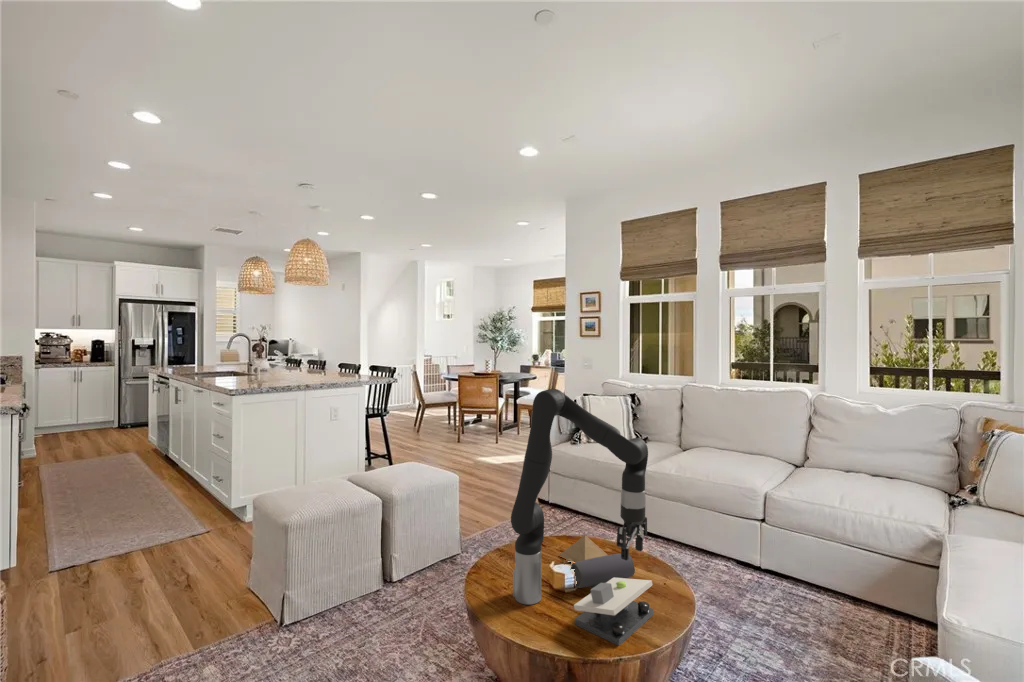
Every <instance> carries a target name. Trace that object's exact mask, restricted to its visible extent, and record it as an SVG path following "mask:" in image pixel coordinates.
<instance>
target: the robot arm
mask: <svg viewBox="0 0 1024 682" xmlns="http://www.w3.org/2000/svg"><path fill="white" fill-rule="evenodd" d="M556 416H559V417H561V418H564V419H566V420H568V421H570V422H571V423H572V424H574V425H575V426H576V427H578V429H579V430H581V432H582V433H583V434H585V435H586V436H587V437H588V438H589V439H590V440H593V441H594V442H595V443H598V444H599V445H600V446H603V448H606V449H608V450H609V452H611V453H612V454H613V455H614V456H615V457H616V458H617V459H619V460H621V461H622V462H624V463H625V468H624V469H623V472H622V473H621V474H622V475H621V492H620V513H619V514H620V519H622V520H623V526H618V527H617V529H616V530H617V531H616V547H618V548H620V553H621V558H622V559H624V560H628V559H629V555H630V554H629V553H630V548H629V547H630V544H631V543H632V542H633V540H634V538H635V547H634V548H635V550H636V551H637V552H642V551H643V550H644V549H643V548H644V546H643V545H644V540H645V536H647V535H648V517H646V499H647V498H646V472H647V471H646V470H647V466H648V459H649V448H648V444H647V443H646V442H645V440H644V439H642V438H639V437H633V438H630V439H628V438H626V437H625V436H623V435H622V434H621V432H620V430H619V429H618V428H617V427H616V426H614V425H611V424H610V423H609V422H606V421H604V420H603V419H601V418H599V417H597V416H596V415H594V414H592V412H589V411H587V410H586V409H585V408H583V407H582V406H581V405H579V404H578V403H577V402H575V401H574V400H573V399H572V398H570V397H569V396H567V394H566V393H564V392H563V391H561V390H559V389H557V388H548V389H546V390H545V389H544V390H542V391H541V390H540V391H539V392H538V393H537V394H536V395H535V396H534V399H533V402H532V409H531V418H530V419H531V421H530V429H529V435H528V440H527V444H526V450H525V453H524V459H523V462H522V463H523V464H522V471H521V475H520V479H519V483H518V484H519V486H518V491H517V495H516V498H515V502H514V504H513V507H512V511H511V515H510V524H511V527H512V530H513V531H514V532H515V533H517V535H518V537H517V538H516V540H515V542H514V569H513V570H512V597H513V598H515V600H516V602H517V603H519V604H522V605H534V604H537V603H539V602H541V600H542V545H543V542H544V538H545V537H544V536H545V535H544V534H545V533H544V532H545V516H544V515H545V514H544V511H543V508H542V507H541V506H540V504H538V503H537V499H538V496H539V494H540V492H541V490H542V488H543V486H544V485H545V483H546V481H547V479H548V476H549V472H550V469H551V466H552V465H551V464H552V460H553V448H552V442H551V431H552V426H553V424H554V420H555V417H556Z"/></svg>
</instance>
